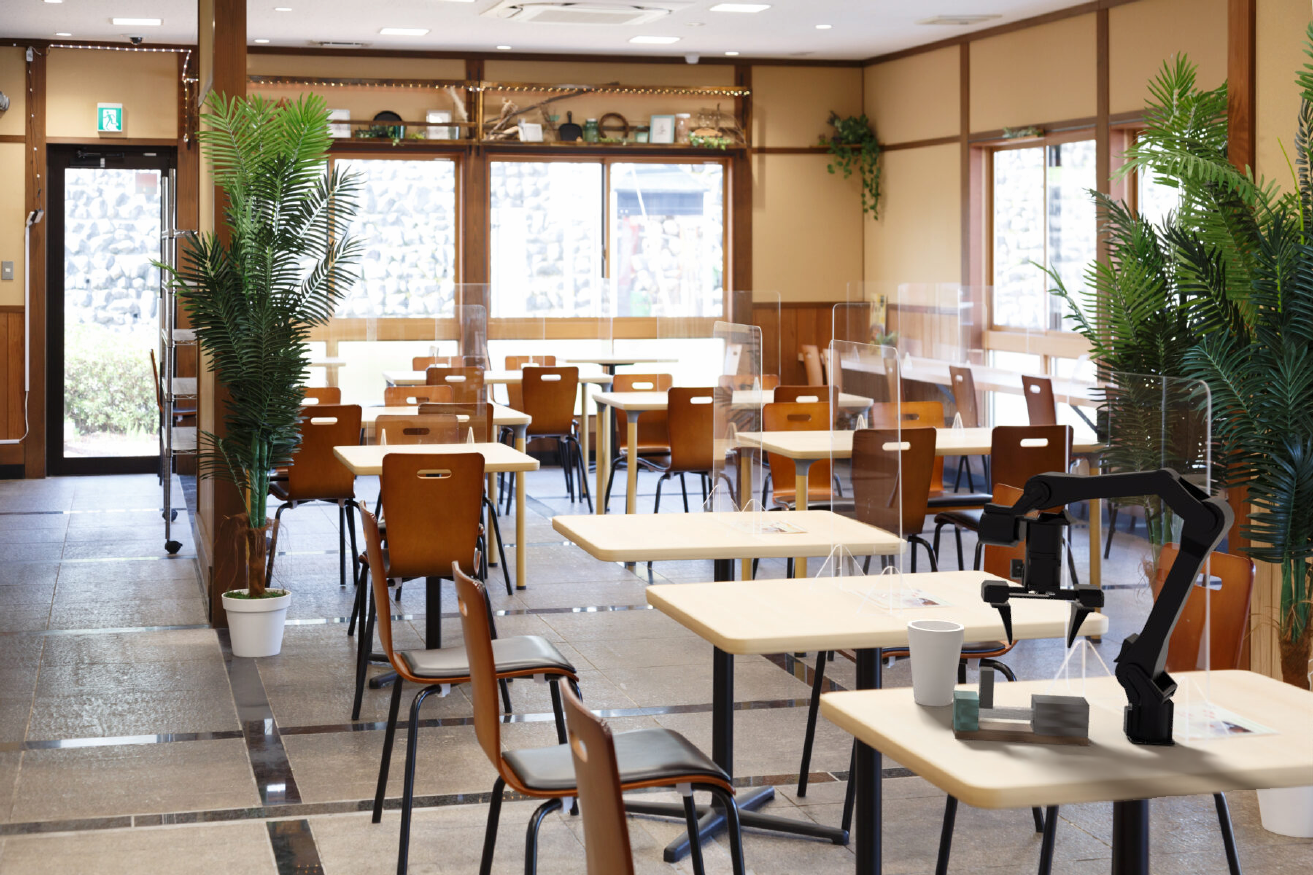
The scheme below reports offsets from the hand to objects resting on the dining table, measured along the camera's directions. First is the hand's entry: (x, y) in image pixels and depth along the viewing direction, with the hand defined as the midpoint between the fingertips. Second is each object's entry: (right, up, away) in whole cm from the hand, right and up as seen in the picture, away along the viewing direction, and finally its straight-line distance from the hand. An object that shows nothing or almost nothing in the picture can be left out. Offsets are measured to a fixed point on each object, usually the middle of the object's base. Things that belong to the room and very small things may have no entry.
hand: (1039, 646), depth 231 cm
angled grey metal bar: (-8, -10, -8) cm, 15 cm away
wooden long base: (-5, -13, -8) cm, 16 cm away
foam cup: (-15, -11, +11) cm, 22 cm away
